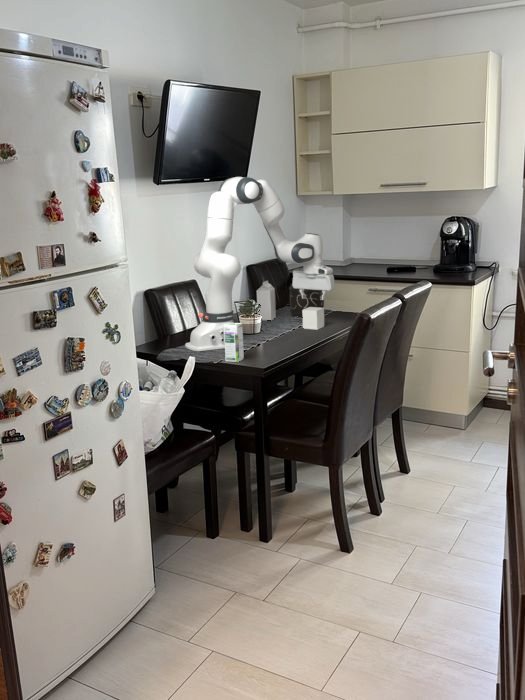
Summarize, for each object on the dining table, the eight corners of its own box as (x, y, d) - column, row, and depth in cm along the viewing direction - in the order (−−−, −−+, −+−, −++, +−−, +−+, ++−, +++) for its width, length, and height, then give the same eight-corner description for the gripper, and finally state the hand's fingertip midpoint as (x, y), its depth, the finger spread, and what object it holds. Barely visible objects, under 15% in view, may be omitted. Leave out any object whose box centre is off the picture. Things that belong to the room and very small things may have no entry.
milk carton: (257, 320, 335) (256, 282, 331) (262, 317, 342) (261, 280, 337) (271, 321, 333) (269, 282, 328) (275, 318, 339) (274, 280, 335)
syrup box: (225, 361, 262) (222, 325, 259) (231, 357, 268) (229, 321, 264) (238, 362, 260) (236, 325, 257) (244, 358, 266) (242, 322, 262)
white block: (317, 329, 310) (316, 310, 308) (302, 328, 314) (302, 309, 311) (324, 326, 316) (324, 307, 314) (310, 325, 320) (309, 306, 317)
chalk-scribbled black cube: (314, 319, 333) (313, 287, 329) (283, 316, 342) (282, 285, 338) (331, 312, 347) (331, 282, 343) (301, 310, 357) (300, 280, 353)
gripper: (289, 268, 311) (290, 298, 315) (330, 270, 301) (330, 301, 304) (296, 267, 317) (296, 296, 320) (336, 269, 306) (336, 299, 309)
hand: (313, 299), depth 312 cm, fingers open, 8 cm apart
